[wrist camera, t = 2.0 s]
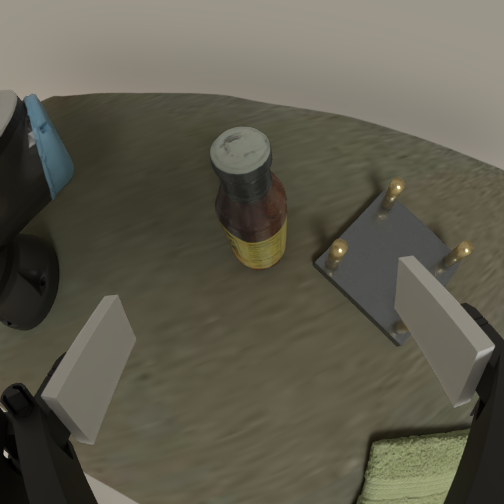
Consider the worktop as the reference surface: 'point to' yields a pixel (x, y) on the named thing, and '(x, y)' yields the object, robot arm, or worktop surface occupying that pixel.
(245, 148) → the sauce bottle
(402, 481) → the washcloth
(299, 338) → the worktop surface
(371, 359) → the worktop surface
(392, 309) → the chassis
